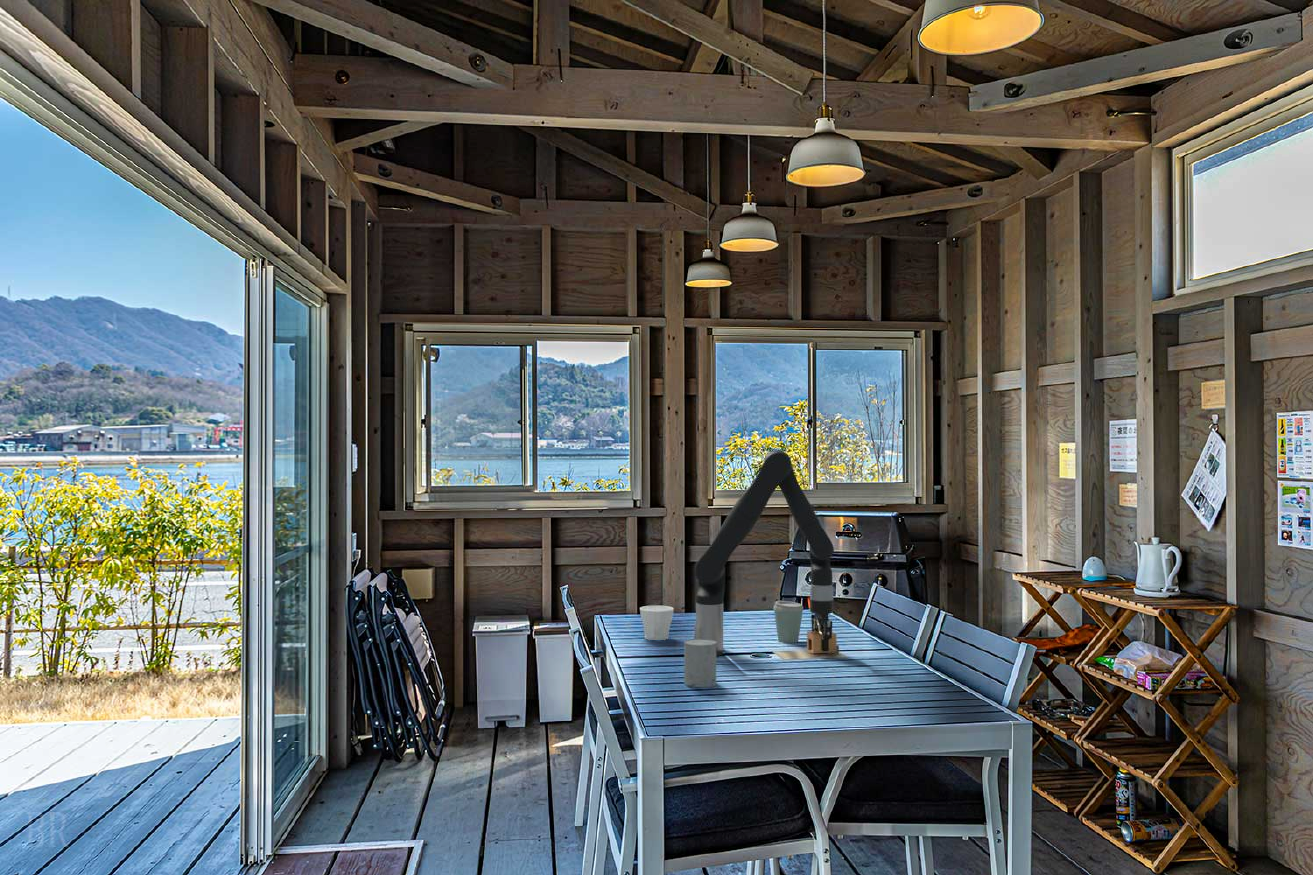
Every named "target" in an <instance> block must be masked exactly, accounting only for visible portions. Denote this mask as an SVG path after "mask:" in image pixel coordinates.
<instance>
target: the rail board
mask: <svg viewBox="0 0 1313 875" xmlns="http://www.w3.org/2000/svg"><path fill="white" fill-rule="evenodd" d="M771 652H772V653H773V654H775V656H778V657H779V658H780V659H782V660H802V659H803V660H806V659H807V660H808V659H809V660H810V659H811V660H812V659H833V658H836V659H837V658H848V656H847V655H846V654H843V653H841V652H840V647H839V645H837V644H836V652H832V653H812V650H807V649H802V650H801V649H799V650H778V651H777V650H776V651H775V650H774V651H771Z"/></svg>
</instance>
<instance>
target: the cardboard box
mask: <svg viewBox="0 0 1313 875" xmlns="http://www.w3.org/2000/svg"><path fill="white" fill-rule="evenodd" d="M823 634H824V633H823ZM826 635H827V634H826ZM836 645H837V633H835V632H834V631H832V639H830V640H829V651H822V638H821V633H819V631H812V630H808V631H806V650H812V653H832V652H836Z"/></svg>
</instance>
